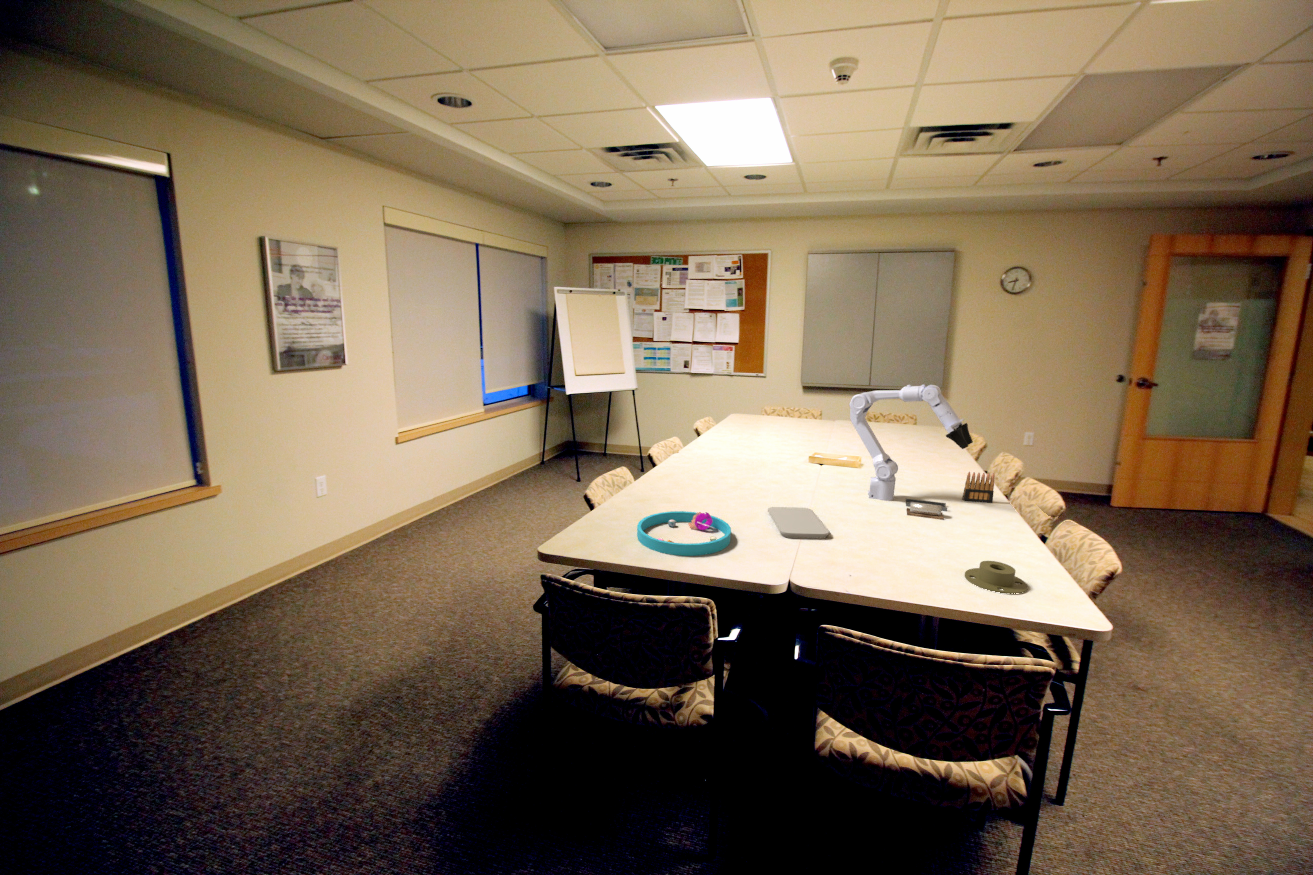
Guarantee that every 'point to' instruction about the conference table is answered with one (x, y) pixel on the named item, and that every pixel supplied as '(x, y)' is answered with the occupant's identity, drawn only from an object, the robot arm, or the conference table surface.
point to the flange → (996, 577)
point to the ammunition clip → (979, 489)
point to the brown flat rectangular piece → (924, 515)
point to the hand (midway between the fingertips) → (967, 445)
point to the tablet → (797, 522)
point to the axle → (925, 509)
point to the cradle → (926, 503)
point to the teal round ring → (695, 521)
